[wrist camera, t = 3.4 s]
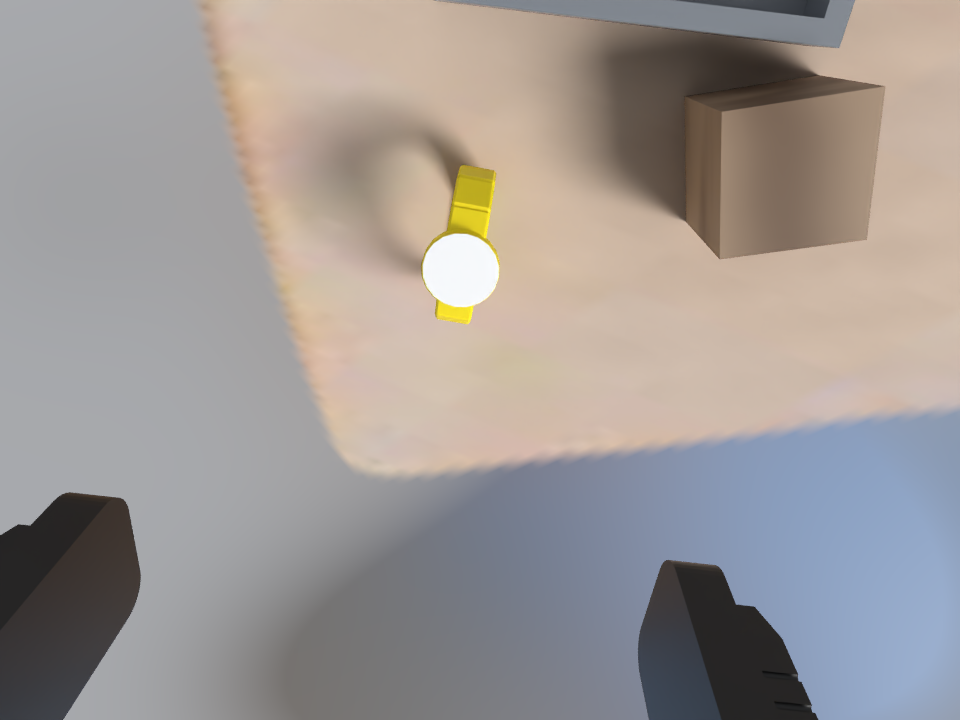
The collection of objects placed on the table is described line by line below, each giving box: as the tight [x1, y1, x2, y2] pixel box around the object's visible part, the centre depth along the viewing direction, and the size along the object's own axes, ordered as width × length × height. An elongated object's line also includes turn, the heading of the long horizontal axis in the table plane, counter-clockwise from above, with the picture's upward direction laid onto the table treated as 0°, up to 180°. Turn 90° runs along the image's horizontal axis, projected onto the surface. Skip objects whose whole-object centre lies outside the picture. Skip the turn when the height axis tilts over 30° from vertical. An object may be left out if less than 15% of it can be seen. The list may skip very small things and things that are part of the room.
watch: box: [421, 165, 499, 324], centre depth 25 cm, size 6×3×6 cm, turn 170°
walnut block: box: [685, 75, 885, 259], centre depth 24 cm, size 5×5×5 cm
